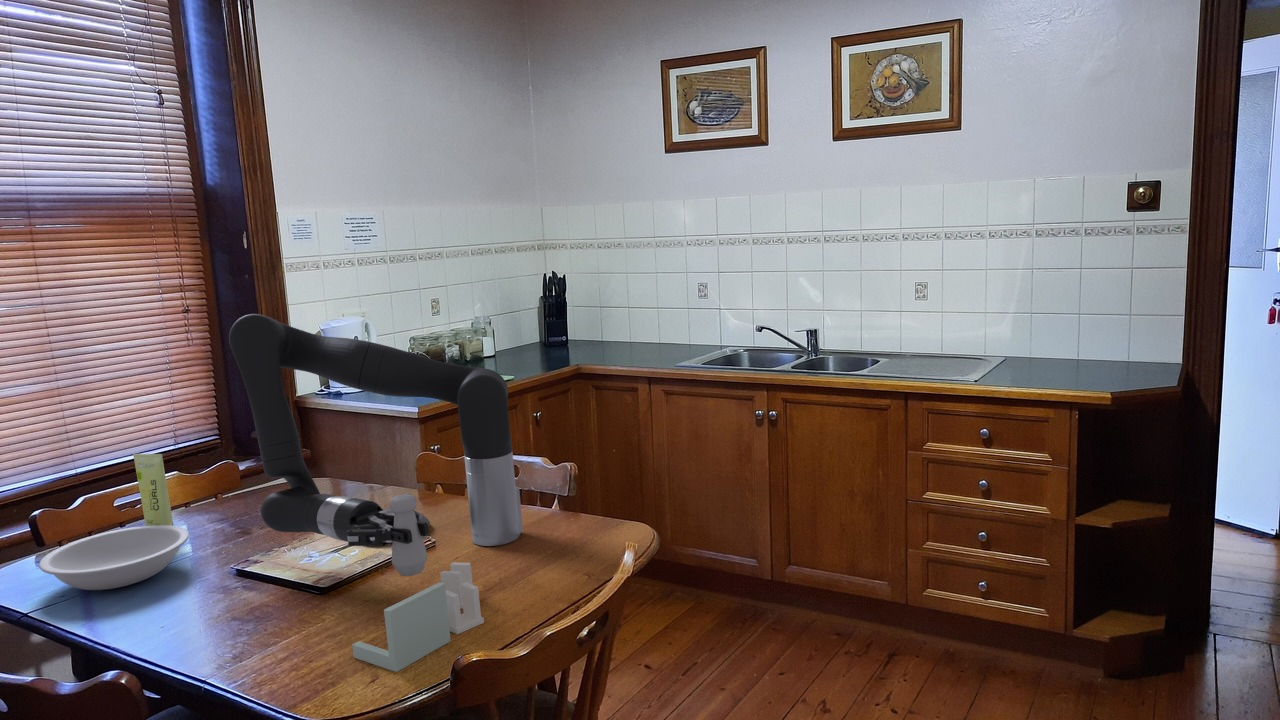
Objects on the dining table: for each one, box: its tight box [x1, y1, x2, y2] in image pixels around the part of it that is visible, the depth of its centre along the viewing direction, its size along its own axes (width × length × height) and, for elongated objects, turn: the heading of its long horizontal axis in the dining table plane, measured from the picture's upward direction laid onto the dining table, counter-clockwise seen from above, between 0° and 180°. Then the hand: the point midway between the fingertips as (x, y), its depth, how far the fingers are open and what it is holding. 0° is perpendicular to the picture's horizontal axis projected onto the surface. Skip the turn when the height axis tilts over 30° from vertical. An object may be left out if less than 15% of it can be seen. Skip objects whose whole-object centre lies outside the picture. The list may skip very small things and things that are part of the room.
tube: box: [133, 453, 175, 526], centre depth 183 cm, size 6×5×20 cm
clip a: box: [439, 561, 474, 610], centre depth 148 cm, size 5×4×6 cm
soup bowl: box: [38, 525, 190, 591], centre depth 166 cm, size 24×24×7 cm
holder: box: [351, 581, 452, 673], centre depth 132 cm, size 10×9×9 cm
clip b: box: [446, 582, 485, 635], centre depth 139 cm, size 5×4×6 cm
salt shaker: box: [389, 493, 428, 577], centre depth 149 cm, size 6×6×13 cm
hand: (418, 533), depth 147 cm, fingers closed on salt shaker, 3 cm apart
